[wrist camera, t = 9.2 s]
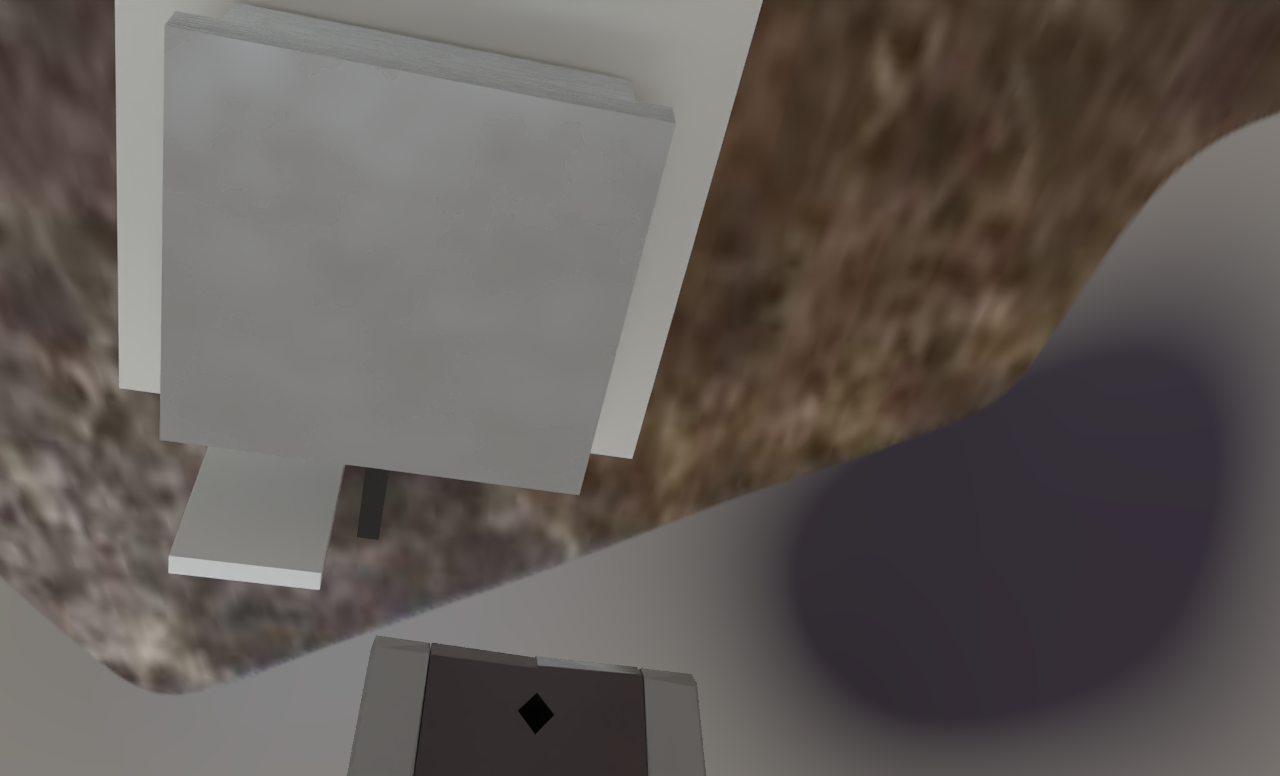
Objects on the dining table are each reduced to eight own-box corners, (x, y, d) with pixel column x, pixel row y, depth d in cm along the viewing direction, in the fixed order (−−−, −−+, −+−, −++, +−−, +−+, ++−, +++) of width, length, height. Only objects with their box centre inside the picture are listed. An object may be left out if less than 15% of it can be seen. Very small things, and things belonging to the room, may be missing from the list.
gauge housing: (765, -35, 40) (817, 63, 32) (621, 475, 52) (636, 631, 44) (122, -176, 36) (16, -102, 29) (126, 408, 48) (52, 566, 41)
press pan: (661, 61, 39) (676, 123, 35) (550, 513, 49) (551, 601, 45) (206, -30, 36) (164, 25, 32) (191, 466, 47) (158, 556, 43)
